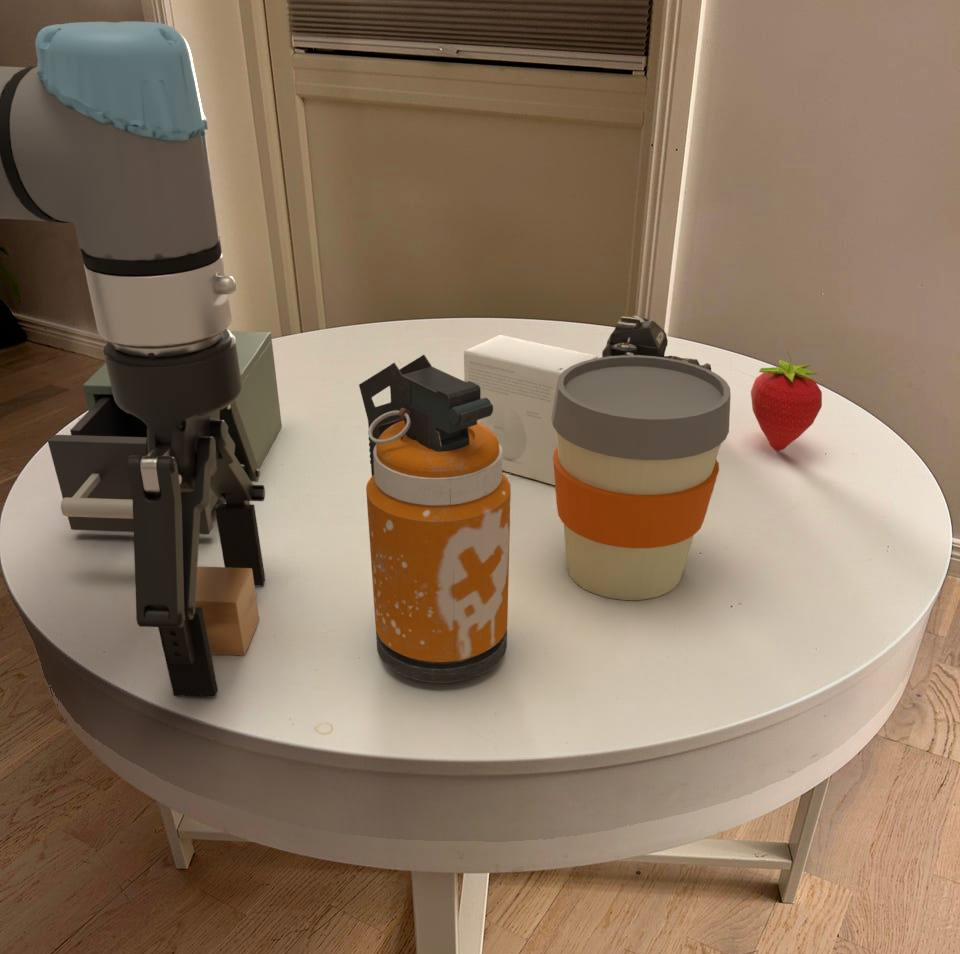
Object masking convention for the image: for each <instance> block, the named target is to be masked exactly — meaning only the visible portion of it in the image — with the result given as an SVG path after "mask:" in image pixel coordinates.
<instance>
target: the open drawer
mask: <svg viewBox="0 0 960 954" xmlns="http://www.w3.org/2000/svg"><path fill="white" fill-rule="evenodd" d="M146 440H147V425H146V424H145V423H144V422H143V421H142V420H141V419H139V418H138V417H136V416H134V415H132V414H128V413H126V412H125V411H123V410H122V409H121V408H120V407H119V406H118V405H117V404H116V402H115V400H114V397H113V395H106V394H104V395H103V396H102V397H101V399H100V400H99V401H98V402H97V403H96V404H95V405H94V406H93V407H92V408H91V409H90V410H89V411H88V410H87V412H86V413H85V414H84V415H83V416H82V417H81V418H80V419H79V420H78V421H77V423H76V424H75V425H73V427H72V428H70V434H53V435H52V436H51V437H50V438H48V440H47V444H48V448H49V452H50V455H51V458H52V459H51V460H52V463H53V467H54V470H55V475H56V477H57V478H56V479H57V481H58V485H59V488H60V489H59V490H60V493H61V497H62V500H61V503H60V510H61V514H62V515H63V516H64V517H67V519H68V523H69V527H70V530H72V531H96V532H122V533H123V532H127V533H130V532H131V533H134V528H133V499H132V493H131V487H130V481H129V476H128V470H127V461H128V458H129V456H146V455H145V453H146ZM191 492H193V491H181V493H191ZM218 501H219V499H218V497H217V496H216V495H215V493H214V492H213V491H212V489H211V488H210V493H209V504H208V506H207V507H206V508H205V509H203V510H202V511H201V513H200V527H199V535H210V534H211V532H212V530H213V529H214V524H213V518H212V511H213V509H215V507H216V505H217V502H218Z"/></svg>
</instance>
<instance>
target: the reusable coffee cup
mask: <svg viewBox="0 0 960 954" xmlns="http://www.w3.org/2000/svg"><path fill="white" fill-rule="evenodd" d="M730 414H731V387H730V385H729V383H728V382H727V381H726V380H725V379H724V378H723V377H722V376H720V375H719V374H718V373H716V372H714V371H712V370H711V371H710V370H708V369H706V368H703V367H701V366H698V365H695V364H692V363H688V362H685V361H680V360H675V359H670V358H663V357H655V356H641V355H621V356H608V357H602V356H601V357H597V358H595V359H591V360H587V361H583V362H580V363H578V364H575V365H573V366H571V367H569V368H568V369H566V370H564V371H563V372H562V374H561V375H560V376H559V378H558V381H557V387H556V393H555V399H554V405H553V411H552V417H551V420H552V425H553V427H554V429H555V430H556V432H557V444H558V447H557V448H556V449H555V451H554V455H553V465H554V477H555V485H554V487H555V499H556V501H555V502H556V510H557V515H558V518H559V519H560V521H561V523H562V524H563V533H564V545H565V546H564V547H565V559H566V569H567V573H568V575H569V576H570V578H571V580H572V581H573V582H575V584H577V586H579V587H581V588H582V589H584V590H585V591H587V592H590V593H592V594H595V595H597V596H601V597H603V598H608V599H613V600H621V601H642V600H649V599H654V598H657V597H661V596H664V595H666V594H668V593H669V592H671V591H672V590H674V589H676V587H677V586H678V585H679V583H680V582H681V578H682V576H683V573H684V569H685V566H686V562H687V559H688V556H689V553H690V549H691V546H692V543H693V540H694V536H695V535H696V534H697V533H698V532H699V530H701V529H702V526H703V525H704V522H705V518H706V515H707V512H708V508H709V505H710V502H711V498H712V495H713V492H714V488H715V485H716V482H717V478H718V476H719V471H720V463H719V461H718V459H717V458H718V455H719V451H720V448H721V444H722V443H723V442H725V440H727V437H728V436H729V433H730V417H731V416H730Z"/></svg>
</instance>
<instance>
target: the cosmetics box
mask: <svg viewBox="0 0 960 954" xmlns="http://www.w3.org/2000/svg"><path fill="white" fill-rule="evenodd" d="M595 358H598V355H595V354H591V353H585V352H581V351H578V350H577V351H576V350H571V349H567V348H564V347H563V348H562V347H557V346H553V345H549V344H545V343H544V344H543V343H539V342H536V341H535V342H534V341H530V340H525V339H520V338H518V337H517V338H516V337H512V336H508V335H503V334H498V335H497V336H494V337H492V338H489V339H488V340H486V341H483V342H481V343H478V344H477V345H474V346H473V347H471V348H468V349H466V350H464V352H463V375H464V376H463V377H464V378H463V379H464V380H463V381H465V382H468V381H471V382H473V383H475V384H477V385H479V387H480V389H481V399H482V398H488V399H489V400H490V402H491V404H493V412H492V414H491V416H489V417H486V418H483V419H479V420H477V422H479V423H481V424H483V425H485V426H486V427H488V428H489V429H490V430H492V432H493V433H494V434H495V435H496V437H497V439H498V442H499V443H500V445H501V447H502V472H503V471H504V472H508V473H510V474H514V475H517V476H521V477H525V478H528V479H532V480H535V481H539V482H543V483H545V484H549V485H553V486H555V477H554V465H553V455H554V451H555V449H556V448H557V447H558V444H557V432H556V430H555V429H554V427H553V425H552V420H551V417H552V411H553V405H554V399H555V393H556V387H557V381H558V378H559V376H560V375H561V374H562V372H563V371H564V370H566V369H568V368H569V367H571V366H573V365H575V364H578V363H580V362H583V361H587V360H591V359H595Z"/></svg>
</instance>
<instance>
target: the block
mask: <svg viewBox="0 0 960 954" xmlns="http://www.w3.org/2000/svg"><path fill="white" fill-rule="evenodd" d="M195 607H202V611H203V616H204V621H205V626H206V631H207V636H208V641H209V646H210V652H211V655H222V656H223V655H224V656H225V655H226V656H245V655H246V653H247V651H248V648H249V646H250V644H251V641H252V639H253V637H254V634H255V631H256V630H257V627H258V624H259V623H260V620H261V619H260V613H259V605H258V600H257V593H256V587H255V586H254V579H253V572H252V568H229V567H225V566H198V565H197V581H196V599H195Z"/></svg>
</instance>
